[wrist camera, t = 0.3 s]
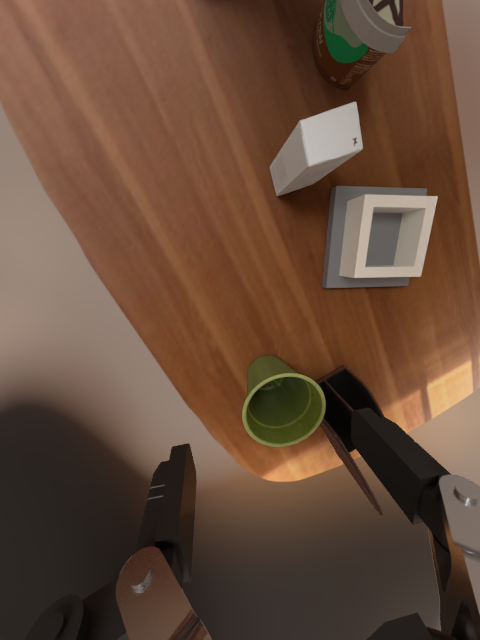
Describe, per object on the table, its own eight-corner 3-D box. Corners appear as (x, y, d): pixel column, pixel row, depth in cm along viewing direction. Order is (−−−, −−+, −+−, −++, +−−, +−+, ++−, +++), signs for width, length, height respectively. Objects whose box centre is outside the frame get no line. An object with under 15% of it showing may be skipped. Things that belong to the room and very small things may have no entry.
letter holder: (337, 453, 50) (384, 526, 37) (298, 390, 44) (338, 449, 31) (376, 430, 50) (438, 495, 36) (342, 363, 44) (402, 411, 30)
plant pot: (279, 330, 40) (305, 358, 29) (306, 380, 44) (337, 421, 33) (221, 363, 40) (226, 403, 29) (252, 410, 44) (266, 460, 33)
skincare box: (306, 153, 33) (359, 98, 21) (312, 185, 34) (365, 149, 23) (267, 166, 33) (299, 118, 21) (275, 197, 34) (309, 168, 22)
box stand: (331, 188, 35) (353, 176, 29) (418, 191, 36) (454, 180, 31) (321, 286, 39) (339, 291, 33) (401, 284, 41) (429, 289, 35)
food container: (298, -16, 28) (346, -158, 18) (346, -21, 28) (416, -163, 19) (308, 107, 31) (352, 43, 22) (350, 100, 32) (411, 34, 22)
